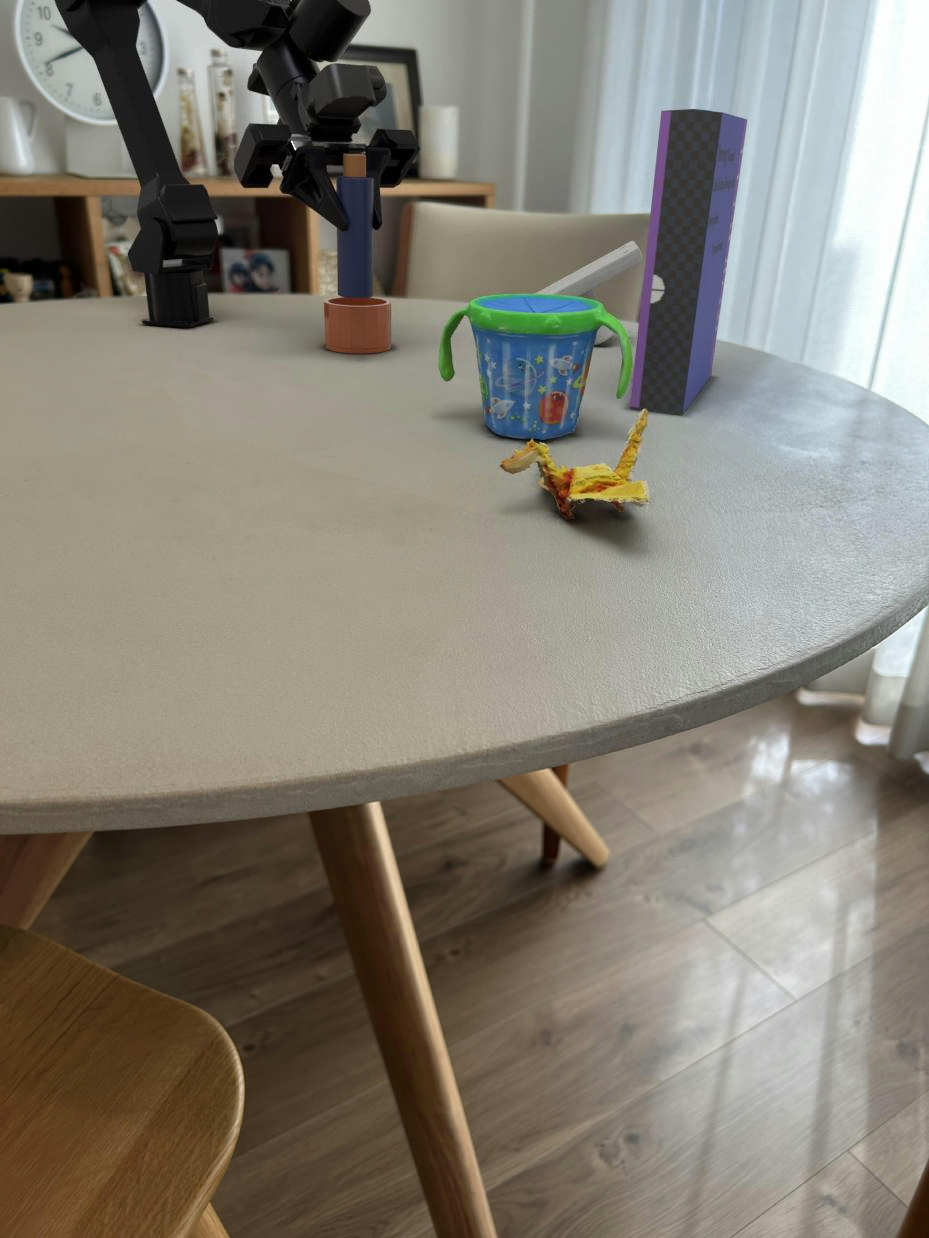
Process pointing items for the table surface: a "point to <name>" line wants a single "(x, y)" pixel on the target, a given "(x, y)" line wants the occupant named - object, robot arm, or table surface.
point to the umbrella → (355, 229)
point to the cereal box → (686, 256)
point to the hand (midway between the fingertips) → (362, 228)
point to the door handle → (597, 278)
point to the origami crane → (587, 474)
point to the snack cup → (534, 359)
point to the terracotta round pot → (357, 325)
